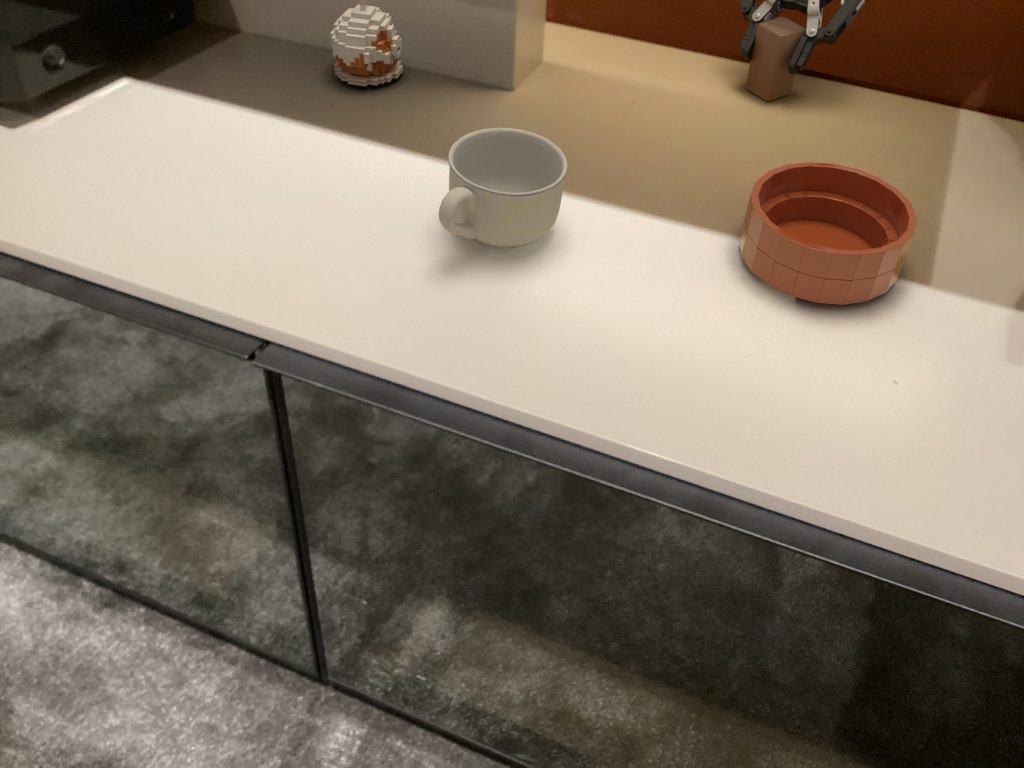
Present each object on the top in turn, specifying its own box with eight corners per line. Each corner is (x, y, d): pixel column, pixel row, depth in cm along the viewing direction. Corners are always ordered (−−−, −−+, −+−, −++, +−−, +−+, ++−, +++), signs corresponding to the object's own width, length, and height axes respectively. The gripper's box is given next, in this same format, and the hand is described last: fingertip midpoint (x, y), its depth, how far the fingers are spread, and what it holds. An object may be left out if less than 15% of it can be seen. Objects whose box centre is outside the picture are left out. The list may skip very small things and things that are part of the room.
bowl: (904, 237, 93) (924, 183, 89) (885, 326, 83) (907, 271, 79) (756, 201, 97) (769, 149, 92) (722, 284, 87) (735, 229, 83)
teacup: (513, 185, 98) (515, 114, 92) (585, 236, 92) (592, 162, 86) (400, 235, 91) (394, 161, 85) (470, 292, 85) (469, 217, 80)
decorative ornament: (389, 94, 110) (380, -40, 100) (325, 85, 112) (310, -48, 101) (410, 64, 116) (403, -66, 105) (349, 55, 117) (336, -74, 107)
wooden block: (768, 80, 115) (783, 14, 109) (792, 94, 113) (808, 28, 107) (743, 88, 113) (756, 22, 108) (766, 103, 111) (781, 36, 105)
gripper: (770, -110, 107) (704, 33, 108) (896, -81, 102) (825, 69, 103) (779, -74, 114) (717, 60, 115) (898, -45, 108) (831, 95, 110)
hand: (768, 64), depth 109 cm, fingers closed on wooden block, 5 cm apart
